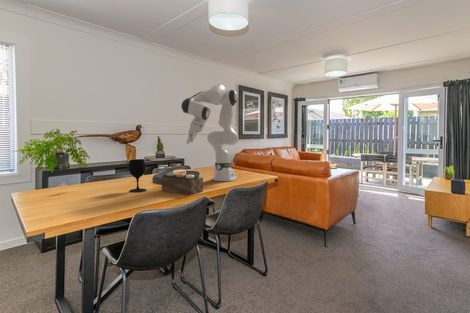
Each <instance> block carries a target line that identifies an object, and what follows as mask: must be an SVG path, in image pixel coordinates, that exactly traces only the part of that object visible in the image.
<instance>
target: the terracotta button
mask: <svg viewBox="0 0 470 313" xmlns="http://www.w3.org/2000/svg"><path fill="white" fill-rule="evenodd" d="M175 175H176V177H184V176H185V173H176V174H175Z"/></svg>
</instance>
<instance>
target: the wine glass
mask: <svg viewBox="0 0 470 313" xmlns="http://www.w3.org/2000/svg"><path fill="white" fill-rule="evenodd" d="M146 169H147V165H146V161H145V159H143V158H141V159H139V158H137V159H130V160H129V162H128V172H129V174H130V175H131V176H132V177H133V178H135V179H136V180H135V181H136V188H132V189H129V192H130V193H133V194H134V193H143V192H146V191H147V189H146V188H140V186H139V180H140V178H141V177H143V176H144V174H145V172H146Z"/></svg>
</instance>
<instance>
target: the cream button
mask: <svg viewBox="0 0 470 313" xmlns="http://www.w3.org/2000/svg"><path fill="white" fill-rule="evenodd" d="M185 176H186V178H190V179H191V178H194V177H195V175H194V174H185Z"/></svg>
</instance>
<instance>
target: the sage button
mask: <svg viewBox="0 0 470 313" xmlns="http://www.w3.org/2000/svg"><path fill="white" fill-rule="evenodd" d="M166 175H167V176H175V175H176V174H175V172H167V173H166Z"/></svg>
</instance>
